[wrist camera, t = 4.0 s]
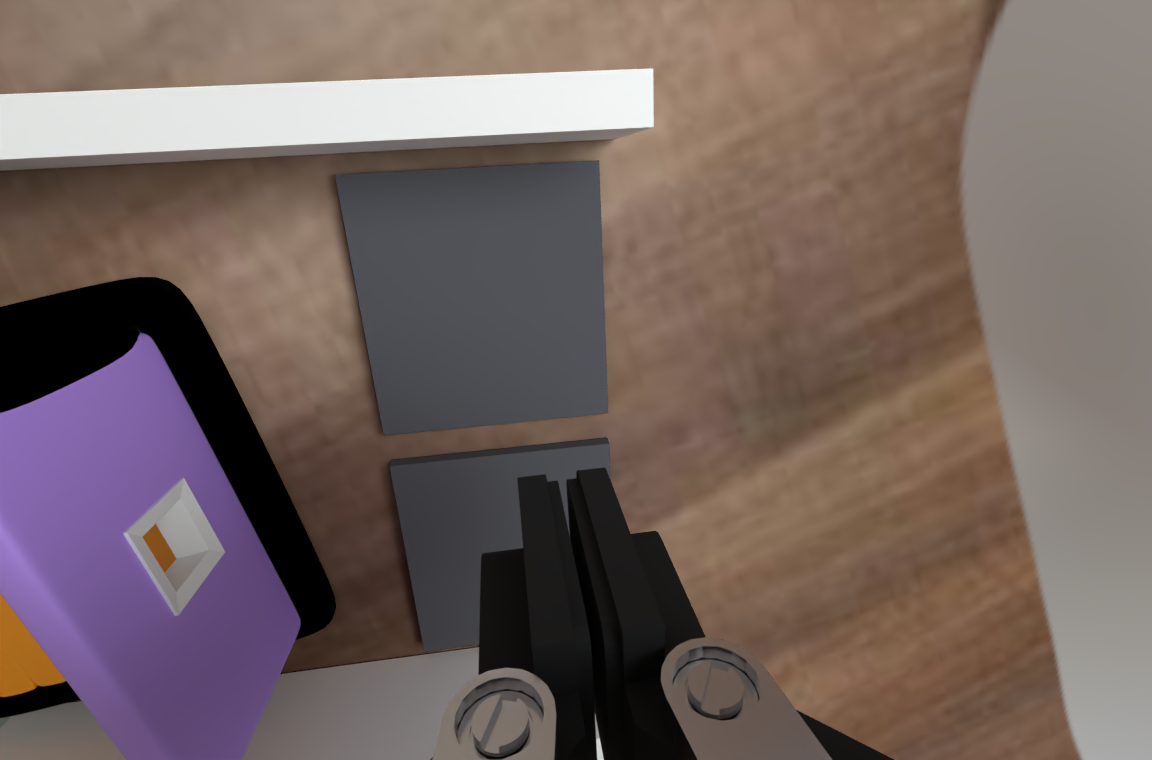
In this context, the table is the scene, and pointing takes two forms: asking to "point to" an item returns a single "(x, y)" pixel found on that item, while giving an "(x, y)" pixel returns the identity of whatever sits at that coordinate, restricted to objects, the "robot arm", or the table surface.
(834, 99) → the table surface
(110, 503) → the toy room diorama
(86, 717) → the box
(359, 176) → the pads
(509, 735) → the robot arm
